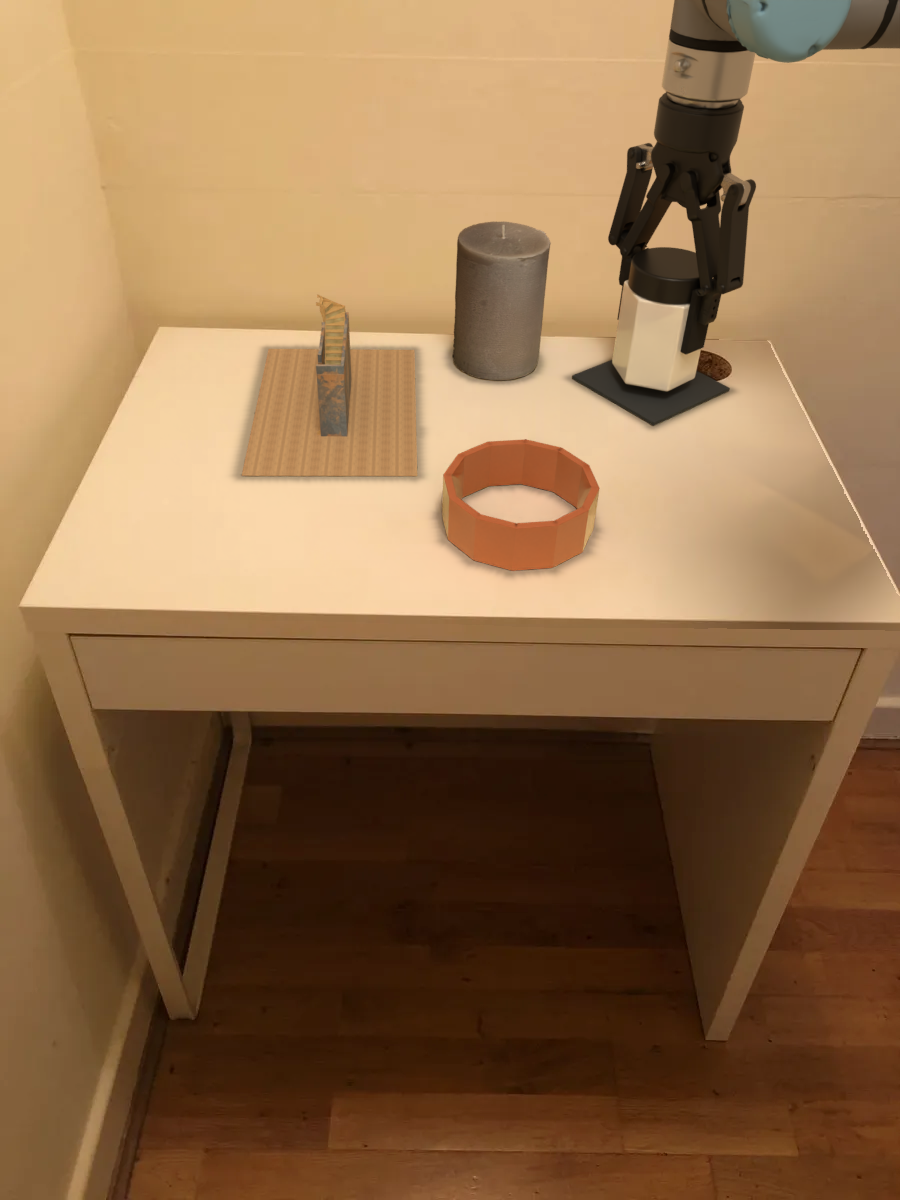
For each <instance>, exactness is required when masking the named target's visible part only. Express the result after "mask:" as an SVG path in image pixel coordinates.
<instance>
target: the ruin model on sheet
mask: <svg viewBox="0 0 900 1200" xmlns="http://www.w3.org/2000/svg"><path fill="white" fill-rule="evenodd" d="M316 297H317V298H318V299H319V301H317V302H315V306H317V307H319V313H320V315H321V317H322V321H321V330H320V331H321V332H320V338H319V345H318V348H268V349H267V350H268V351H267V353H266V354H267V355H266V360H265V364H264V367H263V368H264V369H263V373H262V378H261V383H260V387H259V392H258V397H257V402H256V406H255V411H254V416H253V419H252V424H251V428H250V429H251V430H250V434H249V439H248V443H247V449H246V453H245V458H244V464H243V467H242V472H241V477H257V476H258V477H418V451H417V450H418V448H417V444H418V443H417V408H416V407H417V406H416V405H417V404H416V402H417V401H416V399H417V397H416V360H415V359H416V357H415V356H416V355H415V349H361V348H359V349H357V348H356V349H354V348H353V349H351V336H350V314H349V312H348V311H347V312H346V305H343V304H342V303H338V302H335V301H333V300H331V299H328V298H326V297H325V296H322V295H320V294H316Z"/></svg>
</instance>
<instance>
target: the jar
mask: <svg viewBox="0 0 900 1200" xmlns="http://www.w3.org/2000/svg"><path fill="white" fill-rule="evenodd" d="M648 248H649V247H648ZM698 288H700V281H699V273H698V266H697V258H696V251H692V250H689V249H684V248H678V247H671V246H659V247H650V248H649V249H646V248H645V250H642V251H640V252H638V253H636V254H635V255H634V256H633V258H632V261H631V267H630V274H629V280H626V281H625V282H624V286H623V293H622V300H621V306H620V313H619V319H618V320H617V325H616V326H617V327H616V333H615V340H614V346H613V353H612V359H611V360H612V364H613V365H614V367H615V368H616V370H617V371H618V373H619V374H620V376H621V378H622V379H623V381H624V382H625V383H626V384H629V385H634V386H640V387H645V388H650V389H656V390H661V391H666V392H667V391H670V390H672V389H674V388H676V387H678V386H680V385H682V384H684V383H686V382H688V381H690V380H692V379H694V378H695V375H696V371H698V365H699V361H700V356H701V351H702V348H701V349H699V350H696V351H694V352H692V353H689V354H687V355H686V354H684V353H682V352H681V347H682V342H683V337H684V331H685V326H686V321H687V316H688V311H689V306H690V301H691V296H692V291H693V290H695V289H698Z"/></svg>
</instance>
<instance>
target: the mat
mask: <svg viewBox="0 0 900 1200" xmlns="http://www.w3.org/2000/svg"><path fill="white" fill-rule="evenodd" d="M571 379H572V380H574V381H576V382H577V383H579V384H580V385H582V386H584V387H585V388H587V389H589V390H591V391H592V392H594V393H596V394H597V395H599V396H601V397H603V398H605V399H606V400H608V401H610V402H611V403H613V404H615V405H617V407H620V408H621V409H623V410H625V411H627V412H628V413H630V414H632V415H634V416H635V417H637V418H639V419H641V420H642V421H644V422H646V423H647V424H649V425H651V426H656V425H658V424H661V423H663V422H665V421H667V420H669V419H671V418H673V417H676V416H678V415H680V414H683V413H685V412H686V411H687V412H688V411H689V410H691V409H694V408H695V407H697V406H700V405H703V404H704V403H706V402H709V401H711V400H713V399H715V398H717V397H719V396H722V395H724V394H726V393H729V392H730V390H731V387H729V386H727V385H725V384H723V383H721V382H720V381H718V380H715V379H714V378H711V377H710V376H708V375H706V374H704V373H702V372H700V371H698V370H696V375H695V378H694V379H692V380H690V381H688V382H686V383H684V384H682V385H680V386H678V387H676V388H674V389H672V390H670V391H667V392H666V391H661V390H656V389H650V388H645V387H640V386H634V385H629V384H626V383H625V382H624V381H623V379H622V378H621V376H620V374H619V373H618V371H617V370H616V368H615V367H614V365H613V364H612V359H610V360H608V361H605V362H603V363H601V364H598V365H595V366H593V367H590V368H587V369H585V370H583V371H580V372H578V373H575V374H572V376H571Z"/></svg>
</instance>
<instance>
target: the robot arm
mask: <svg viewBox="0 0 900 1200" xmlns="http://www.w3.org/2000/svg"><path fill="white" fill-rule="evenodd" d="M866 49H900V0H673V6H672V13H671V21H670V29H669V35H668V42H667V49H666V54H665V60H664V67H663V74H662V80H661V88H662V89H663V90H664V91H665V92H664V93H663V94H662V95H661V96H660V97H659V98H658V103H657V109H656V116H655V123H654V129H653V137H654V139H655V141H656V143H655V145H653V144H652V143H650V142H646V143H642V144H638V145H635V146H631V147H629V148H628V149H627V151H626V173H625V177H624V181H623V184H622V186H621V187H622V188H621V191H620V194H619V196H618V197H619V198H618V201H617V205H616V208H615V212H614V215H613V219H612V222H611V226H610V230H609V233H608V237H607V240H608V241H607V242H608V243H609V244H610V245H611V246H616V248H618V249H619V255H620V256H621V260H620V261H621V262H620V268H619V274H618V275H619V276H618V284H619V286H621V292H620V297H619V298H620V299H619V306H618V312H617V318H616V319H617V321H618V319H619V313H620V306H621V300H622V293H623V286H624V282H625V281H626V280H629V274H630V267H631V261H632V258H633V256H634V255H635V254H636V253H638V252H640V251H642V250H645V249H649V247H648V246H647V245H648V244H649V242H650V241H651V239H652V238H653V235H654V234H655V232H656V230H657V228H658V227H659V225H660V223H661V222H662V220H663V219H664V217H665V215H666V214H667V211H668V210H669V208H670V206H671V204H672V203H677V205H680V206H681V207H682V208H685V211H686V217H687V220H688V221H690V222H691V226H692V234H693V243H694V249H695V251H694V252H695V253H696V258H697V266H698V273H699V281H700V288H698V289H695V290H693V291H692V296H691V301H690V306H689V311H688V316H687V321H686V326H685V331H684V337H683V342H682V347H681V352H682V353H684V354H686V355H687V354H689V353H692V352H694V351H696V350H699V349H701V350H702V349H704V348H705V343H706V339H707V336H708V335H707V334H708V330H709V325H710V324H711V323H713V322H715V320H716V319H717V317H718V311H719V307H720V302H721V299H722V295H725V294H728V293H730V292H733V291H735V290H738V289H740V288H742V287H743V285H744V277H745V264H746V248H747V237H748V225H749V224H748V223H749V212H750V205H751V202H752V201H753V200H752V199H753V198H754V195H755V192H756V189H757V183H756V181H755V180H754V179H751V178H749V179H745V180H743V179H742V178H740V177H738V176H736V175H735V174H733V173H732V167H731V155H732V152H733V151H734V148H735V146H736V144H737V142H738V138H739V134H740V128H741V123H742V119H743V115H744V114H743V113H744V110H745V105H744V104H743V101H742V100H741V99H742V98H744V97H746V96H747V94H748V92H749V88H750V84H751V83H750V82H751V77H752V74H753V73H752V72H753V67H754V62H755V58H756V56H758V57H760V58H763V59H766V60H771V61H774V62H777V63H782V64H783V63H784V64H785V63H786V64H788V63H789V64H791V63H798V62H801V61H804V60H807V59H808V58H810V57H813V56H814V55H815V54H817V53H819V52H821V51H827V50H830V51H831V50H832V51H833V50H840V51H841V50H842V51H843V50H866ZM653 170H654V174H655V179H654V180H653V182H652V185H651V186H650V188H649V185H650V181H651V178H652V174H653ZM648 188H649V190H648ZM721 190H722V191H723V193H722V194H721V195H720V191H721ZM645 198H646V200H645ZM644 201H645V202H644ZM721 202H722V203H721ZM705 205H706V206H705ZM702 206H705V207H703V208H701V207H702Z"/></svg>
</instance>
